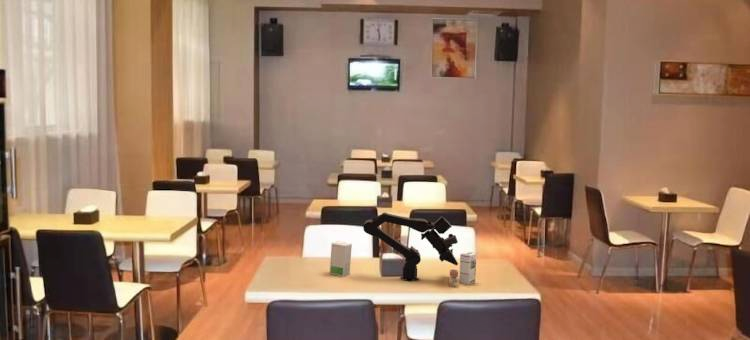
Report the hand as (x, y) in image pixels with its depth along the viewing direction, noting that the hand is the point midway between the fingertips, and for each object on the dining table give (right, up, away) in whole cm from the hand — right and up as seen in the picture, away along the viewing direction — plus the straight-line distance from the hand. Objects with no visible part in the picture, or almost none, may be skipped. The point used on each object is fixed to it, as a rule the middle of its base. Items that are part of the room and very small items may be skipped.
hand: (457, 264), depth 333 cm
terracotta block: (-1, -8, +7) cm, 10 cm away
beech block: (-3, -9, -6) cm, 11 cm away
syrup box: (+5, -9, 0) cm, 10 cm away
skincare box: (-56, -6, +7) cm, 57 cm away
